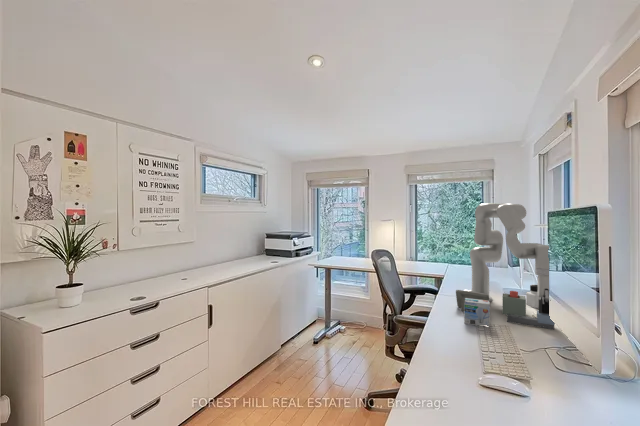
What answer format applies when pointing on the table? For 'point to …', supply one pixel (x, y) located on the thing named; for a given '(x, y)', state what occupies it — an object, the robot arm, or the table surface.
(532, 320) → the rail
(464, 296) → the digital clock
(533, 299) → the medicine bottle
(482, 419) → the table surface
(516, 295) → the gauge button
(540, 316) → the carriage
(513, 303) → the cabinet
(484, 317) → the light bulb box
